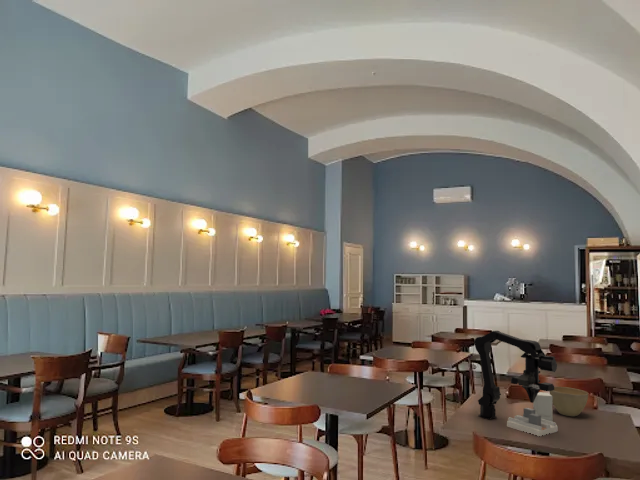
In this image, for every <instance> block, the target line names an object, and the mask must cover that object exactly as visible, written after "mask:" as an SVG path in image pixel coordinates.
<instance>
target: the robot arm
mask: <svg viewBox="0 0 640 480" xmlns="http://www.w3.org/2000/svg"><path fill="white" fill-rule="evenodd" d="M496 341H499V342H502V343H506V344H508V345H510V346H513V347H516V348H517V349H519V350H521V351H522V352H524V353H523V354H521V355H520V358H523V359H525V360H524V361H525V364H524V365H525V366H524V367H525V368H524V369H523V371H522V372H523V373H522V374H521V375H519V376H512V377H511V379H510V383H511V384H513V385H518V386H521V388H522V389H524V390H525V392H526V393H527V396H528V398H529V403H532V404H533V402H534V400H535V398H536V396H537V394H538V392H541V391H544V392H549V391H553V390H554V387H555V385H554V384H553V383H550V382H541V379H539V378H540V377H539V375H540V374H541V371H545V372H550V373H551V372H552V373H556V371H557V369H558V363H557V361H556V357H555V356H551V355H550V356H549V355H546V354H545V352H544V351H543V349H542V347H541V345H540V343H539V342H538V341H536V340H530V339H523V338H519V337H516V336H513V335H510V334H509V333H508V334H507V333H505V332H502V331H499V330H492V331H490V332H489V333H487V334H484V335H482V336H478V337H475V339H474V340H473V344H474V346H475V350H476V351H477V353H478V354H479V359H480V360H479V361H480V365H481V366H480V367H481V372H482V380H483V388H482V396H481V397H480V398H479V399H478V400H477V402H478V405H479V406H480V411H479V412H480V414H478V417H480V418H483V419H487V420H492V419H496V418H497V415H496V412H497V411H496V405H497V403H498V401H499V400H500V399H501V396H502V394H501V392H500V391H501V390H500V386H497V385H496V384H495V381H494V380H495V379H494V373H493V368H492V361H491V355H490V353H491V350H492V344H493V343H494V342H496ZM540 370H541V371H540Z"/></svg>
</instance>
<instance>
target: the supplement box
mask: <svg viewBox="0 0 640 480" xmlns="http://www.w3.org/2000/svg"><path fill="white" fill-rule="evenodd" d="M532 404H533V405H532V406H533V408H532V409H534V410H535V414H536V415H540V416H541V419H544V420H548V421H551V422H554V421H553V402H552V396H551V395H550V392H541V391H539V392H538V394H537V396H536V398H535V400H534V402H533V403H532Z"/></svg>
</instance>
